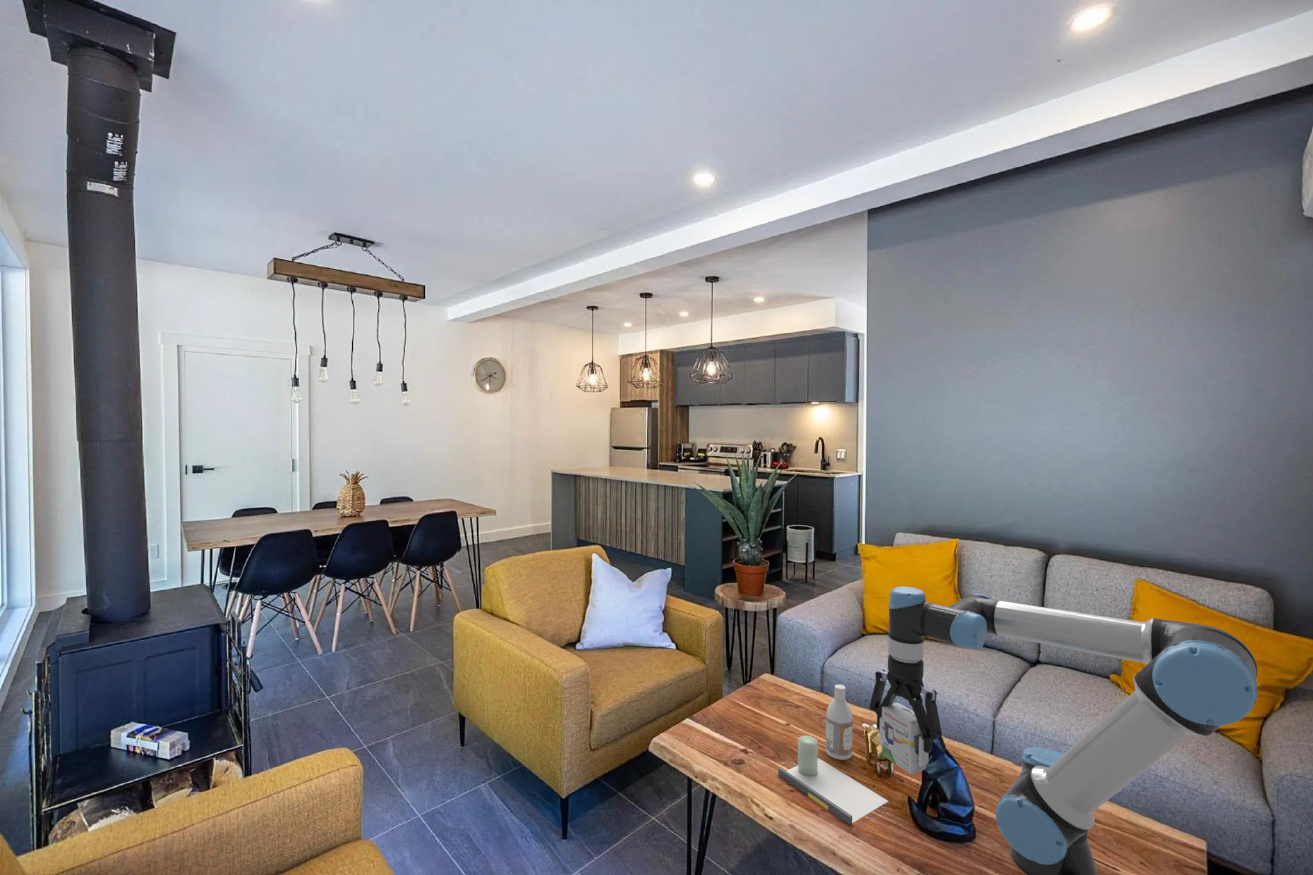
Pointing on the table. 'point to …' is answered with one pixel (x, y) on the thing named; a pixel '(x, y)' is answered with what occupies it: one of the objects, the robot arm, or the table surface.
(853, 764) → the table surface
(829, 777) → the shelf board
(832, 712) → the bath foam
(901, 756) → the ink box
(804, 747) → the sage canister
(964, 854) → the table surface
